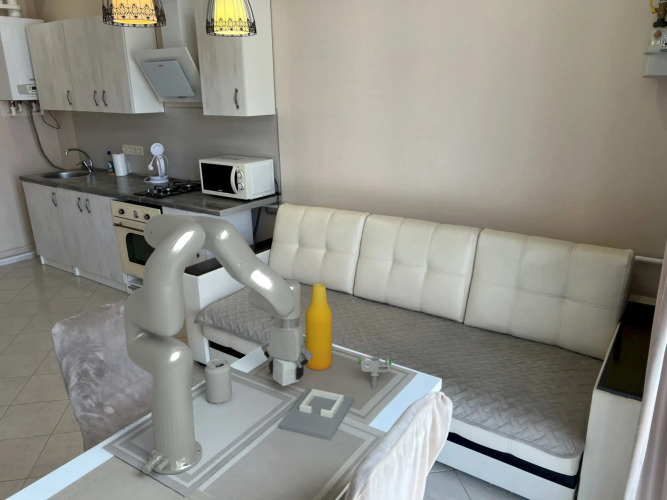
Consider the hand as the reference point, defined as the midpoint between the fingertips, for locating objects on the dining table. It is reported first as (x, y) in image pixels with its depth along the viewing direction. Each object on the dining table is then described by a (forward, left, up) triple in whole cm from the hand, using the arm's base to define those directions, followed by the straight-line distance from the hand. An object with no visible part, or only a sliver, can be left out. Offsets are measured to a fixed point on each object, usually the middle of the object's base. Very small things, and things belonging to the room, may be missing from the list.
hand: (286, 374), depth 149 cm
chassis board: (-7, -13, -6) cm, 16 cm away
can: (-10, +18, -7) cm, 21 cm away
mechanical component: (+13, -24, -7) cm, 28 cm away
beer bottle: (+21, -2, -7) cm, 22 cm away
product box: (0, 0, -2) cm, 2 cm away
